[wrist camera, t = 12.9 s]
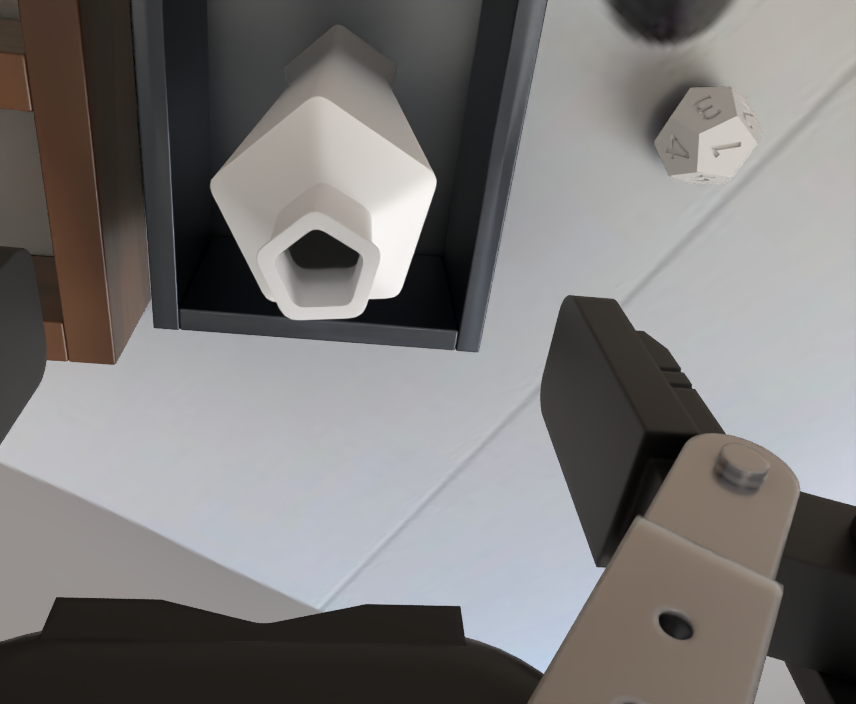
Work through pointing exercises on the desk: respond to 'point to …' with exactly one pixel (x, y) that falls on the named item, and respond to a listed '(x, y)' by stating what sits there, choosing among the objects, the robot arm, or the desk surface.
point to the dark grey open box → (257, 92)
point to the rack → (83, 169)
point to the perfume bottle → (329, 185)
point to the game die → (708, 135)
